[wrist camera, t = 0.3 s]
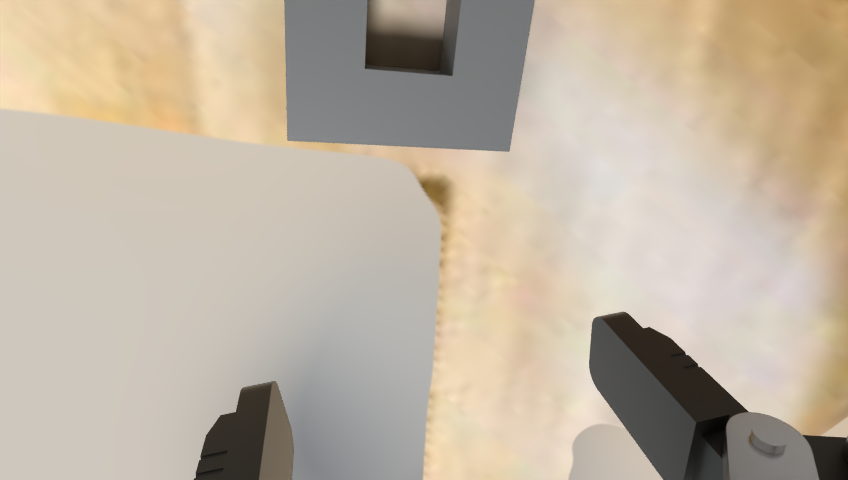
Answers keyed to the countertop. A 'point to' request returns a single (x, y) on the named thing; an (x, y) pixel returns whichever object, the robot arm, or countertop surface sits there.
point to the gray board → (405, 78)
